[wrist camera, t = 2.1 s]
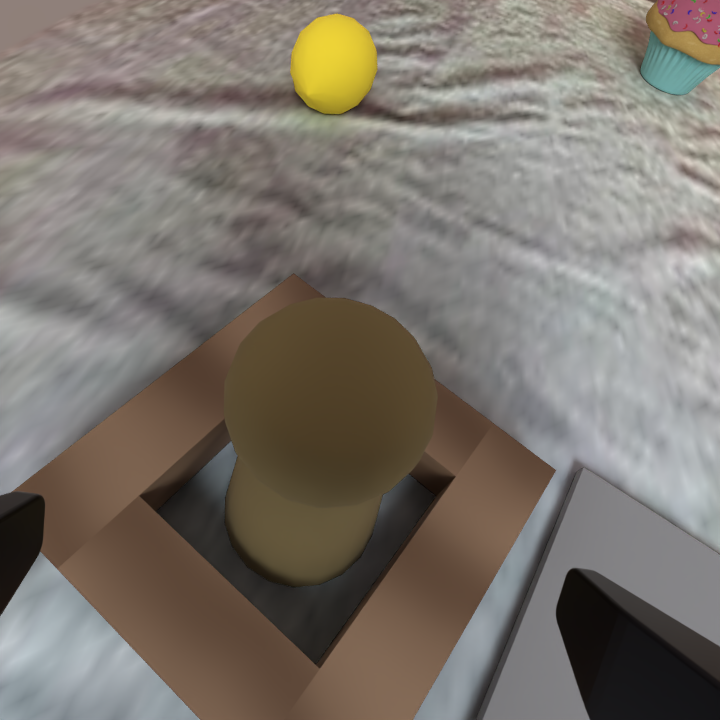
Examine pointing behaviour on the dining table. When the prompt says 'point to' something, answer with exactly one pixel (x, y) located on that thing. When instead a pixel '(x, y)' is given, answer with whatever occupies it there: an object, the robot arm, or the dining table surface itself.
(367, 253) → the dining table surface
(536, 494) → the socket block
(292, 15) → the dining table surface
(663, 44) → the cupcake
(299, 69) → the lemon
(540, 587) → the grey mat
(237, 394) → the cork
